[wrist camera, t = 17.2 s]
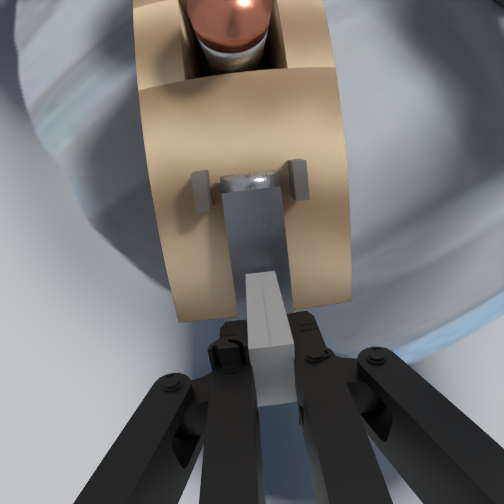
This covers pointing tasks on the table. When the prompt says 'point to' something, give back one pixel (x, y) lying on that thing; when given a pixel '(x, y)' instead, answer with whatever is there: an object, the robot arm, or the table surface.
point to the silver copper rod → (231, 32)
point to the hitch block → (244, 151)
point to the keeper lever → (256, 232)
